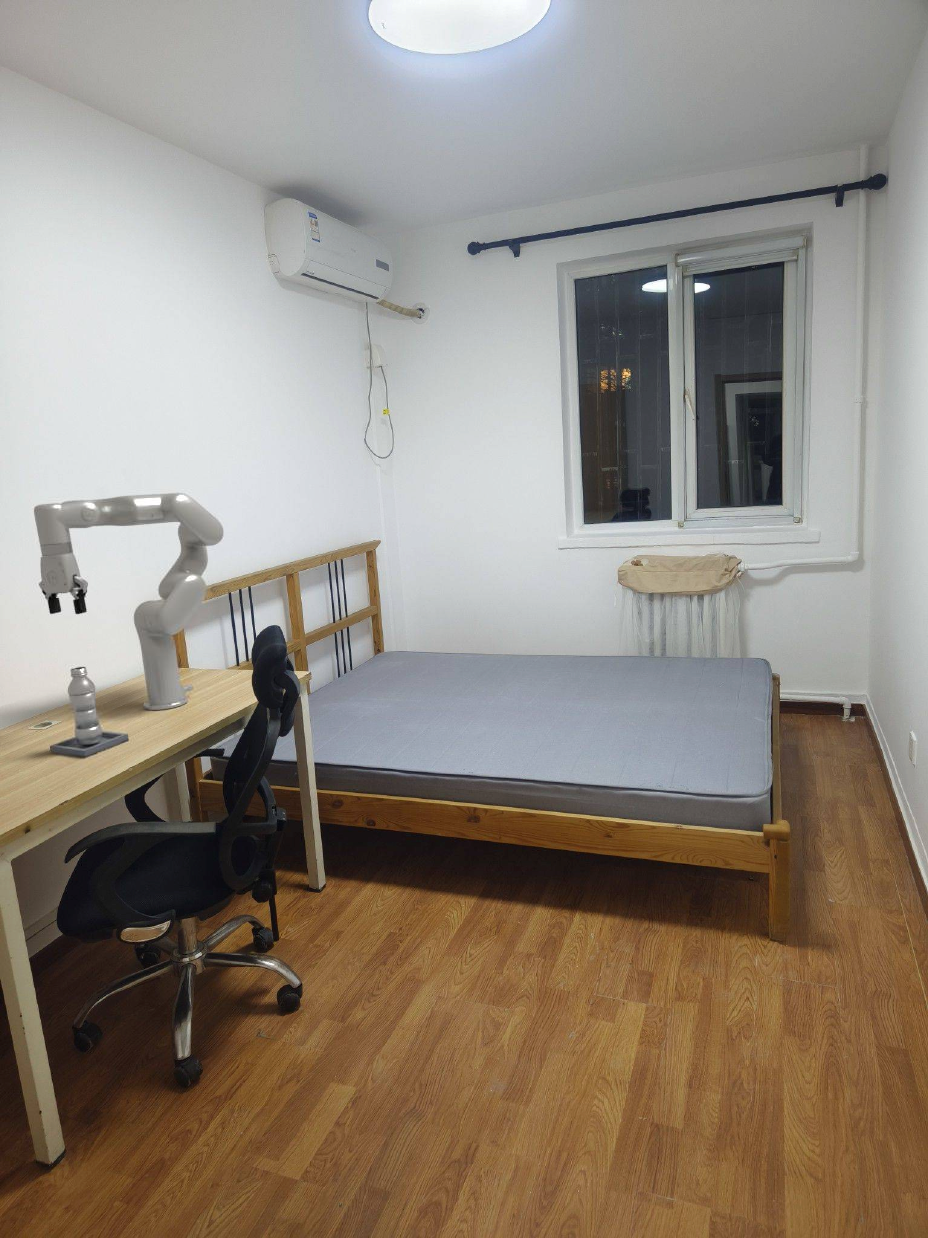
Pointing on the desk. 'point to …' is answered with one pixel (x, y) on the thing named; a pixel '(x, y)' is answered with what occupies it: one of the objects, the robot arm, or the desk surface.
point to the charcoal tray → (77, 750)
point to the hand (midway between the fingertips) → (68, 613)
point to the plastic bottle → (84, 708)
